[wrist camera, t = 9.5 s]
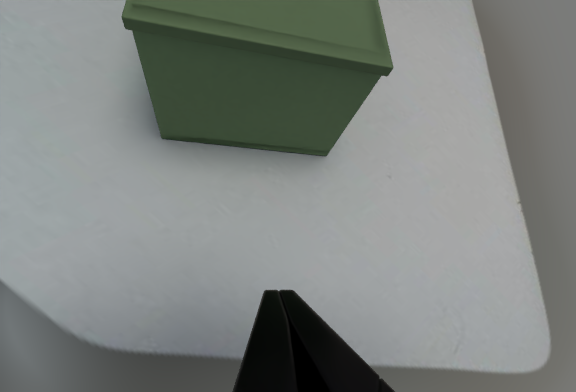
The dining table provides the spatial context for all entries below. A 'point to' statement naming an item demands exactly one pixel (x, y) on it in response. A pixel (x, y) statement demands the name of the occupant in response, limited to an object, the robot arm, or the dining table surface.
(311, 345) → the robot arm
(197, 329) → the dining table surface
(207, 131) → the storage box
